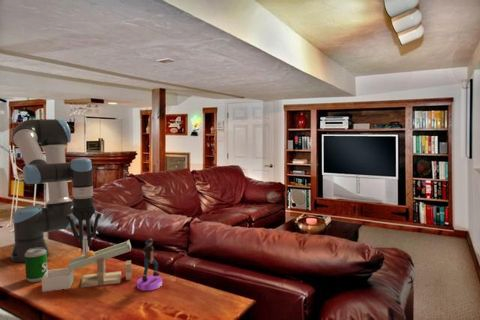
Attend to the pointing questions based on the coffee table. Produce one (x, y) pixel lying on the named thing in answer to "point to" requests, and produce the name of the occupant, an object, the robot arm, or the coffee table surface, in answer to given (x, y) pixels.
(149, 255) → the figurine
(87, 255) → the ball
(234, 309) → the coffee table surface
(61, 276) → the dish
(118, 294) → the coffee table surface
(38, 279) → the soda can
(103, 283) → the stand
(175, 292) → the coffee table surface
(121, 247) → the lever
